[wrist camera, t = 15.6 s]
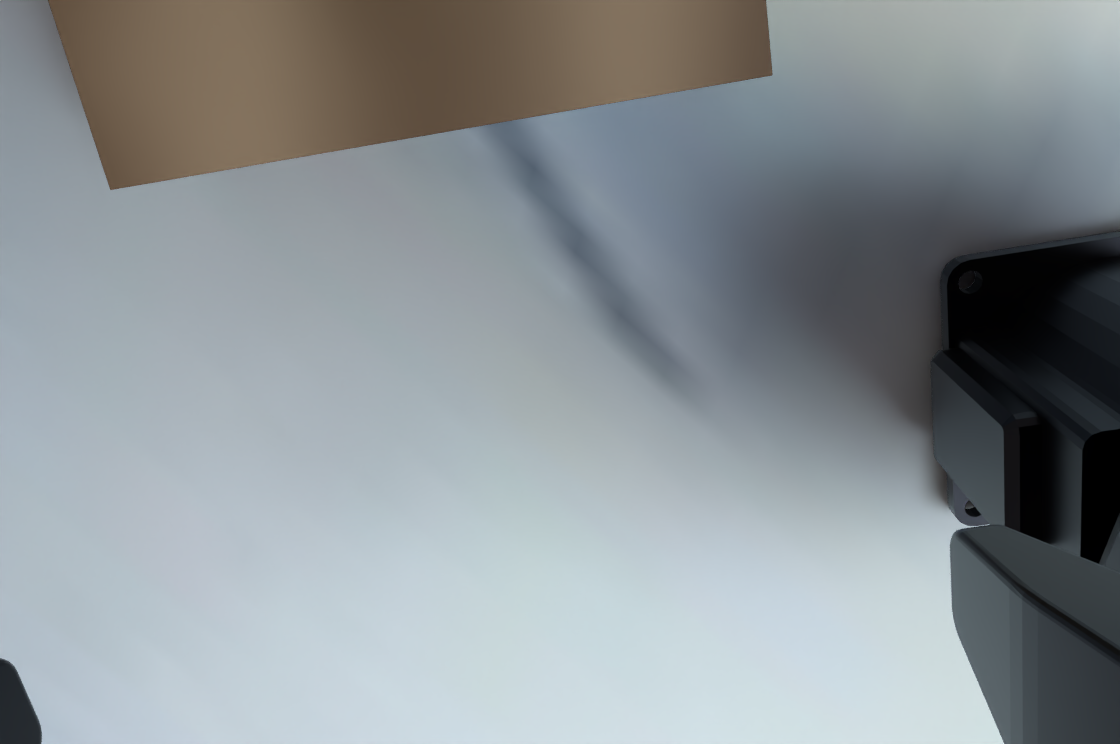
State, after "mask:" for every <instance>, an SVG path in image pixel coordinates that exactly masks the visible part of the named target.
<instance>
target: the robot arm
mask: <svg viewBox="0 0 1120 744" xmlns="http://www.w3.org/2000/svg"><path fill="white" fill-rule="evenodd" d="M968 271H974V273H975V280H974V282H973V284H972V285H971V286H970V287H968V288H965V289H960V288H959V285H958V283H959V279H960V277H961V276H962V275H963V274H964V273H966V272H968ZM940 289H941V318H942V347H943V350H939V351H938V352H937V353H936V355H935V356H934V357H933V359H932V360H931V386H932V412H933V437H934V456H935V459H936V460H937V461H938V463H939V464H940V465H941V466H942V467H943V469H944V470H945V471H946V472H947V493H948V505H949V508H950V510H951V511H952V513H953V514H954V515H955V517H956V518H957V519H958V520H959V521H960V522H961V523H963V524H965V525H968V526H979V525H986V524H990V525H986V526H979V527H971V528H964V529H960V530H957V531H956V532H955V533H954V534H953V535H952V538H951V542H950V563H951V592H952V612H953V618H954V623H955V627H956V630H957V633H958V636H959V639H960V641H961V643H962V646H963V648H964V650H965V653H966V655H967V657H968V660H969V662H970V664H971V667H972V669H973V671H974V674H975V676H976V678H977V681H978V683H979V685H980V688H981V690H982V692H983V695H984V697H985V699H986V702H987V704H988V707H989V709H990V711H991V714H992V716H993V718H994V721H995V723H996V725H997V728H998V730H999V732H1000V735H1001V737H1002V739H1003V742H1004V744H1120V231H1117V232H1111V233H1104V234H1098V235H1092V236H1085V237H1079V238H1072V239H1066V240H1060V241H1053V242H1047V243H1040V244H1034V245H1028V246H1021V247H1015V248H1008V249H1002V250H996V251H989V252H983V253H976V254H970V255H964V256H960V257H957V258H955V259H953V260H952V261H950V262H949V263H948V264H947V265H946V266H945V268H944V270H943V271H942V274H941V280H940ZM969 500H970V501H971V503H972V504H973V505H974V506H975V507H973V508H970V509H966V508H965V505H966V503H967V502H968V501H969ZM41 742H42V732H41V725H40V722H39V720H38V718H37V715H36V713H35V711H34V708H33V706H32V704H31V702H30V699H29V697H28V695H27V693H26V690H25V688H24V686H23V683H22V681H21V679H20V677H19V674H18V672H17V670H16V668H15V667H14V666H13V665H12V664H11V663H10V662H9V661H7V660H4V659H1V658H0V744H41Z"/></svg>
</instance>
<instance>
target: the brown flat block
mask: <svg viewBox="0 0 1120 744" xmlns="http://www.w3.org/2000/svg"><path fill="white" fill-rule="evenodd" d="M48 2H49V5H50V8H51V11H52V14H53V17H54V20H55V23H56V26H57V29H58V32H59V35H60V38H61V41H62V44H63V47H64V50H65V53H66V56H67V60H68V63H69V66H70V69H71V72H72V75H73V78H74V81H75V84H76V87H77V90H78V93H79V96H80V99H81V102H82V105H83V108H84V111H85V114H86V117H87V120H88V123H89V126H90V129H91V132H92V135H93V138H94V141H95V144H96V148H97V151H98V154H99V157H100V160H101V163H102V166H103V169H104V172H105V175H106V178H107V181H108V184H109V187H110V190H113V189H119V188H125V187H130V186H136V185H142V184H148V183H154V182H159V181H165V180H171V179H177V178H182V177H188V176H194V175H200V174H206V173H211V172H217V171H223V170H229V169H234V168H240V167H246V166H252V165H257V164H263V163H269V162H275V161H281V160H286V159H292V158H298V157H304V156H309V155H315V154H321V153H327V152H333V151H338V150H344V149H350V148H356V147H361V146H367V145H373V144H379V143H384V142H390V141H396V140H402V139H408V138H413V137H419V136H425V135H431V134H436V133H442V132H448V131H454V130H460V129H465V128H471V127H477V126H483V125H488V124H494V123H500V122H506V121H511V120H517V119H523V118H529V117H535V116H540V115H546V114H552V113H558V112H563V111H569V110H575V109H581V108H586V107H592V106H598V105H604V104H610V103H615V102H621V101H627V100H633V99H638V98H644V97H650V96H656V95H662V94H667V93H673V92H679V91H685V90H690V89H696V88H702V87H708V86H713V85H719V84H725V83H731V82H737V81H742V80H748V79H754V78H760V77H765V76H771V75H772V64H771V52H770V41H769V30H768V18H767V7H766V0H48Z"/></svg>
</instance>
